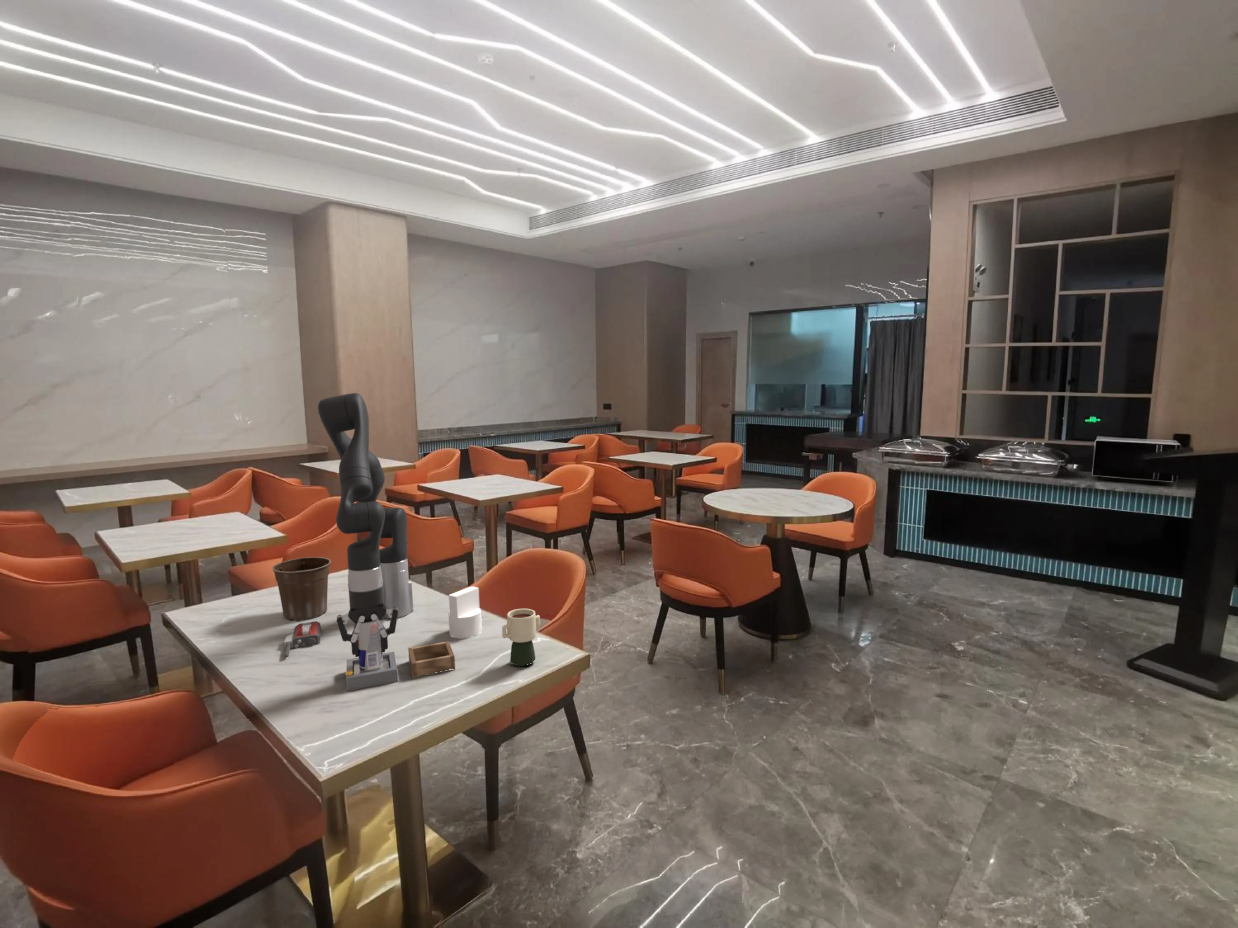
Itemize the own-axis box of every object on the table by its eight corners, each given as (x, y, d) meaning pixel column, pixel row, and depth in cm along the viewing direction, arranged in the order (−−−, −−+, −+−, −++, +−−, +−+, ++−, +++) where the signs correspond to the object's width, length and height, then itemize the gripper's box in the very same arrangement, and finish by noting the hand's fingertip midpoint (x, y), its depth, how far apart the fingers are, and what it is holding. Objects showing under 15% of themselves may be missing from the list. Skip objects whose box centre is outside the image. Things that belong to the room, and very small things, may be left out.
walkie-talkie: (287, 634, 177) (281, 661, 159) (286, 619, 176) (280, 645, 158) (321, 629, 180) (319, 655, 162) (320, 614, 180) (318, 639, 162)
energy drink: (363, 662, 151) (360, 615, 150) (385, 661, 152) (382, 614, 150) (356, 672, 146) (352, 623, 145) (379, 671, 147) (376, 622, 145)
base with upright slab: (465, 640, 169) (463, 598, 168) (442, 634, 174) (440, 593, 173) (488, 629, 177) (486, 589, 176) (466, 623, 182) (464, 584, 180)
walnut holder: (449, 653, 161) (448, 641, 161) (455, 669, 152) (454, 655, 152) (409, 661, 157) (408, 647, 157) (412, 677, 148) (411, 663, 148)
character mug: (533, 652, 161) (531, 604, 160) (549, 661, 156) (547, 611, 154) (496, 665, 154) (494, 615, 152) (511, 674, 149) (509, 622, 147)
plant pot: (343, 612, 193) (340, 562, 191) (289, 628, 181) (284, 574, 179) (321, 601, 203) (317, 553, 201) (268, 615, 191) (263, 565, 189)
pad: (388, 663, 154) (387, 657, 154) (390, 676, 147) (389, 670, 147) (354, 669, 151) (353, 663, 151) (354, 683, 144) (354, 676, 144)
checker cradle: (394, 662, 156) (394, 649, 156) (397, 681, 146) (396, 666, 146) (346, 671, 152) (345, 657, 152) (346, 690, 142) (345, 675, 142)
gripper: (396, 576, 153) (400, 642, 155) (332, 584, 147) (337, 652, 149) (398, 585, 146) (402, 653, 148) (331, 594, 140) (337, 665, 142)
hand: (370, 653), depth 149 cm, fingers closed on energy drink, 5 cm apart
